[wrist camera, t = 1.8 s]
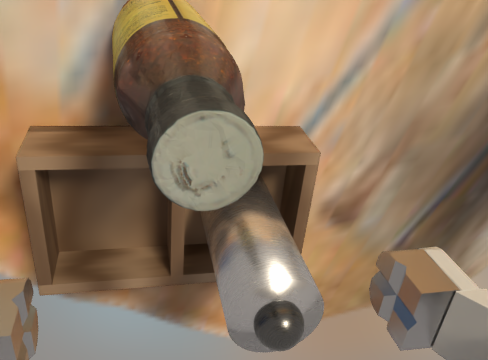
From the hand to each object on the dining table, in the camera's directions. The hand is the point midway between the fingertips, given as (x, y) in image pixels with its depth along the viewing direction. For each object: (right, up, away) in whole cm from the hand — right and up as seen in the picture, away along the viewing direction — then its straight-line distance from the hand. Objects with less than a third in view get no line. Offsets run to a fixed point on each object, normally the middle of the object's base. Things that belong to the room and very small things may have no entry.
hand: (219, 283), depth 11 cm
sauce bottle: (-5, +13, +22) cm, 26 cm away
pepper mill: (0, +1, +28) cm, 28 cm away
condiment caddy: (-6, +1, +28) cm, 29 cm away
